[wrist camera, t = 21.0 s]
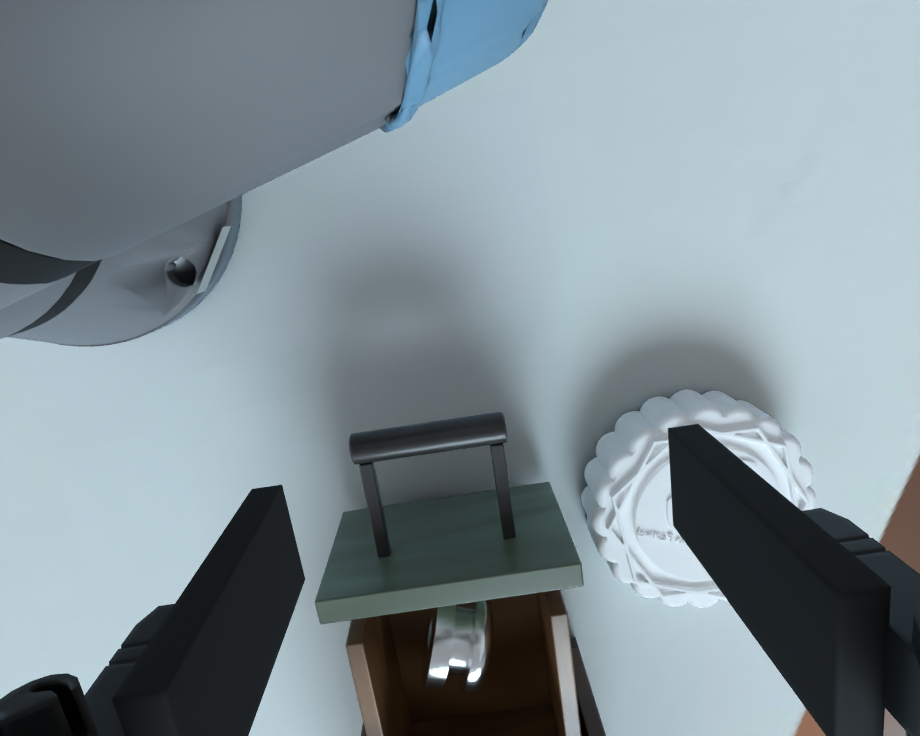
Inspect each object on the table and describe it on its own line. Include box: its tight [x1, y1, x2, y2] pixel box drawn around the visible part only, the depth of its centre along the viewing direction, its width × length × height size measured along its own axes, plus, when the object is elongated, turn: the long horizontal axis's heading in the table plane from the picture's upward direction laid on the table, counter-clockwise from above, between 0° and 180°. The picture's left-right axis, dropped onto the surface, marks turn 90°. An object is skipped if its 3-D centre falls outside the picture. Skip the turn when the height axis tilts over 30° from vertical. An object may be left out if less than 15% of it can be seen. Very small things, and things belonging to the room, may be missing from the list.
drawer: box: [315, 412, 583, 736], centre depth 31 cm, size 21×12×8 cm, turn 8°
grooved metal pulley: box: [422, 600, 493, 693], centre depth 31 cm, size 5×3×5 cm, turn 169°
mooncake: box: [581, 389, 816, 608], centre depth 33 cm, size 12×12×4 cm
